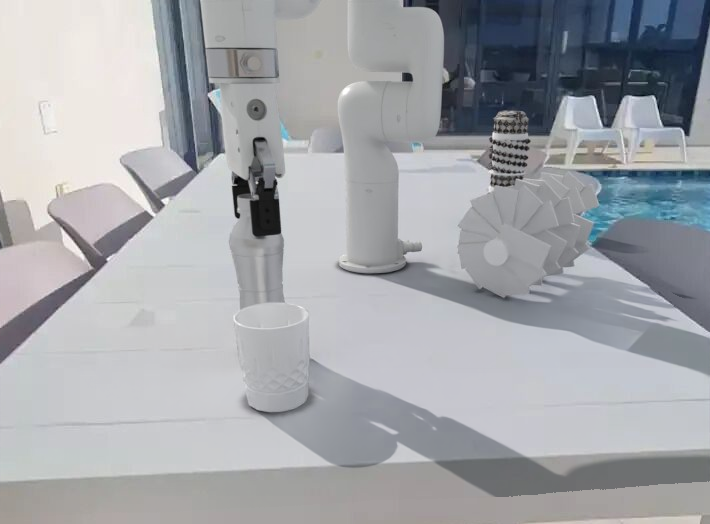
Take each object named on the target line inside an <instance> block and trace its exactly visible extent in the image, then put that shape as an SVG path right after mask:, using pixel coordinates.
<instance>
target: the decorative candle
mask: <svg viewBox="0 0 710 524" xmlns="http://www.w3.org/2000/svg"><path fill="white" fill-rule="evenodd" d="M492 119H493V120H494V124H493V132H492V135H491V137H489V138H488V141H489V143H491V145H490V146H489V147H488V150H489V152H490V153H489V154H488V159H490V160H491V161H490V162H489V163H488V168H490V169H488V173H489V174H490V177H489V181H490V183H489V185H488V193H487V194H489V193H491V191H494V186H495V185H497V186H501V187H508V186H512V185H515V181H516V179H520V180H523V179H524V176H525V175H526V174H527V171H526V170H524V169H525V167H527V166H528V163H527V162H526V161H527V160H528V159H529V156H528V155H527V154H526V153H527V152H528V151H530V150H531V149H530V147H529V146H528V145H529V144H530V143H531V139H529V133H528V131H529V118H528V117H527V113H526V112H524V111H522V110H500V111H498V113H497V114H496V116H495V117H492Z"/></svg>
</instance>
